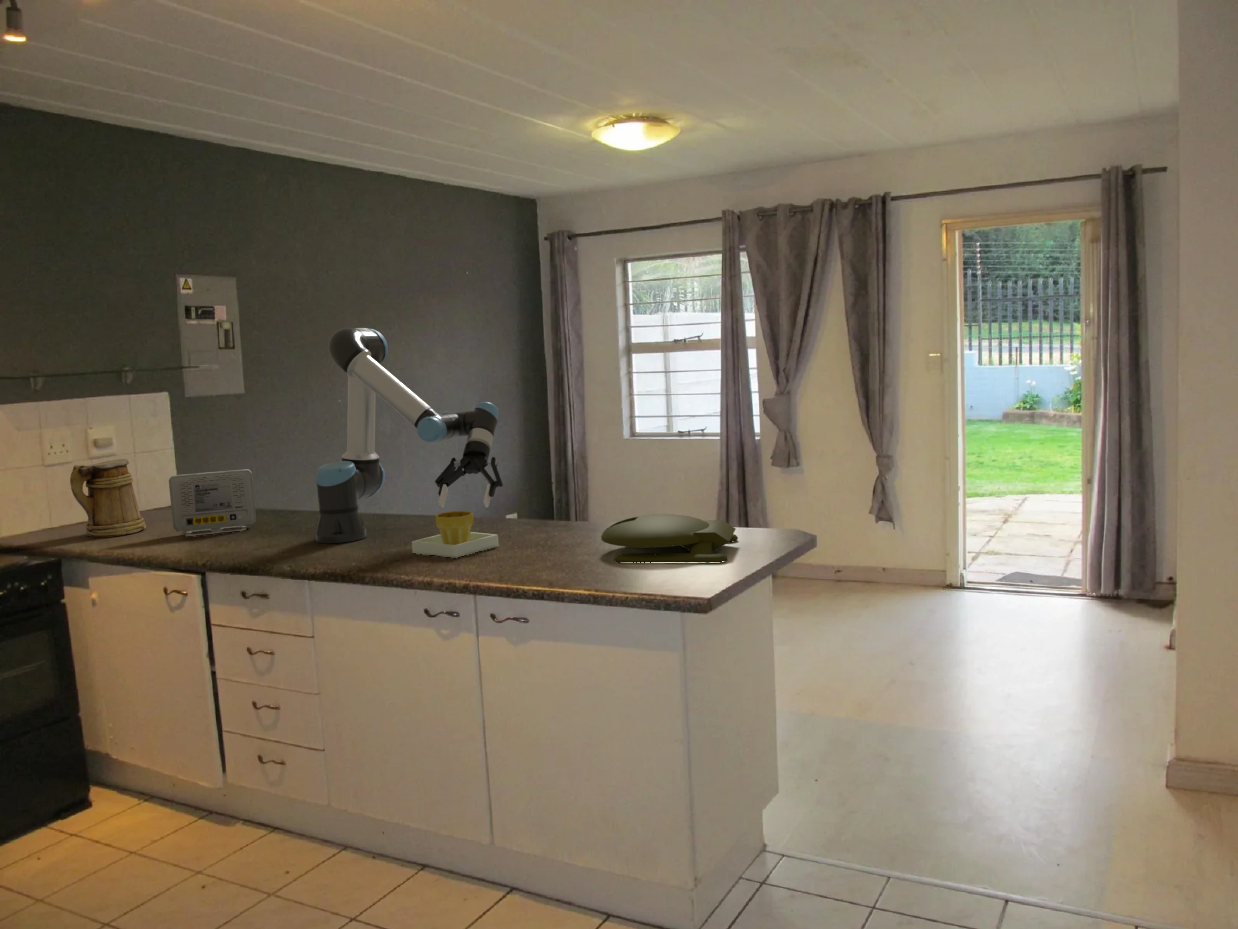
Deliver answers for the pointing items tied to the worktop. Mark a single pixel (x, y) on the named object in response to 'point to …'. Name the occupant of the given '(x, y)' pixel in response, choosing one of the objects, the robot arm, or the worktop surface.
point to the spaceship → (670, 538)
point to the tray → (437, 547)
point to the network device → (212, 501)
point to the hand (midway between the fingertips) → (463, 505)
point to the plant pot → (454, 526)
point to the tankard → (107, 498)
